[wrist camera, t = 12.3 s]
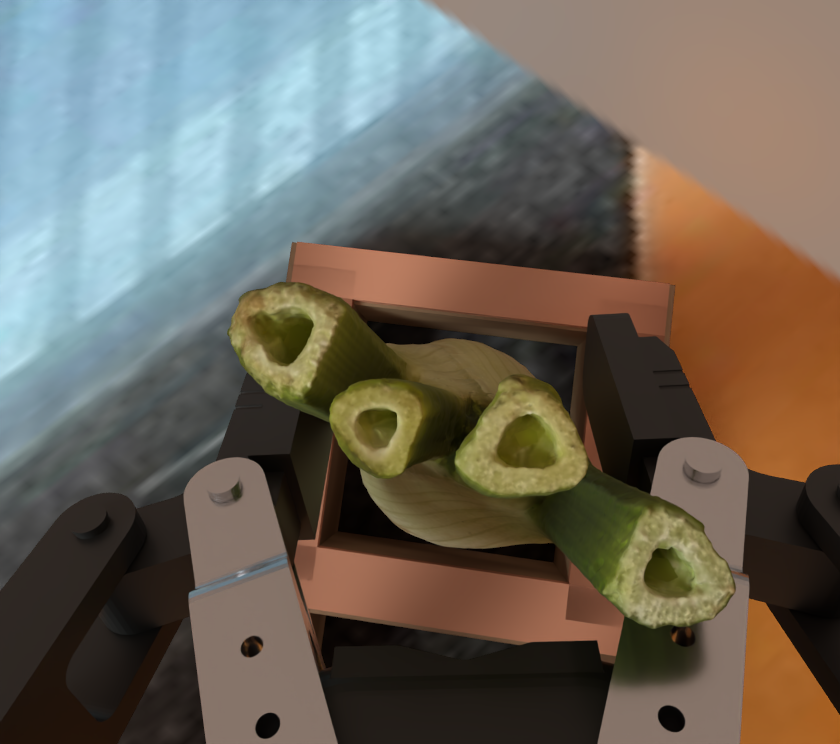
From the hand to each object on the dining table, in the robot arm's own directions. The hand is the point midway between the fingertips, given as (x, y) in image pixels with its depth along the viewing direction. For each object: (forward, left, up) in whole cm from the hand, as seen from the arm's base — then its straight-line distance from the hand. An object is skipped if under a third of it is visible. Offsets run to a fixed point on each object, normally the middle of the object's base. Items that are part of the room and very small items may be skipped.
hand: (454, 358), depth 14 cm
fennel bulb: (0, -2, -5) cm, 5 cm away
